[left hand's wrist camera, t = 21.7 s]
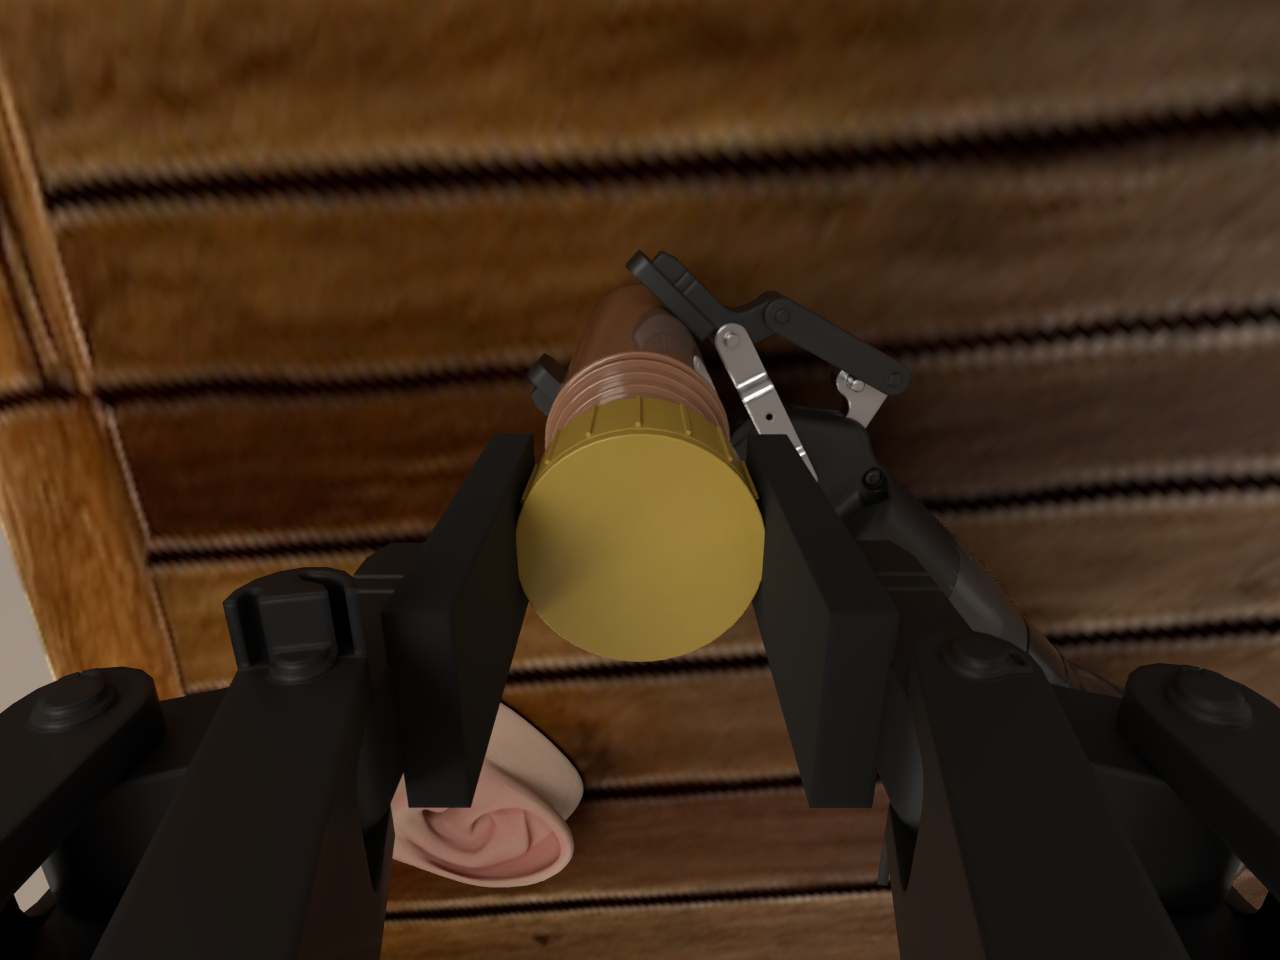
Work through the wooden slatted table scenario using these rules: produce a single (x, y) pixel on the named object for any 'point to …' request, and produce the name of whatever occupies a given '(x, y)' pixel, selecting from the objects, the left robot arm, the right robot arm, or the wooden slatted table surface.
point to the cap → (640, 532)
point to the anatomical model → (498, 815)
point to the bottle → (635, 362)
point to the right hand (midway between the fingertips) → (584, 314)
